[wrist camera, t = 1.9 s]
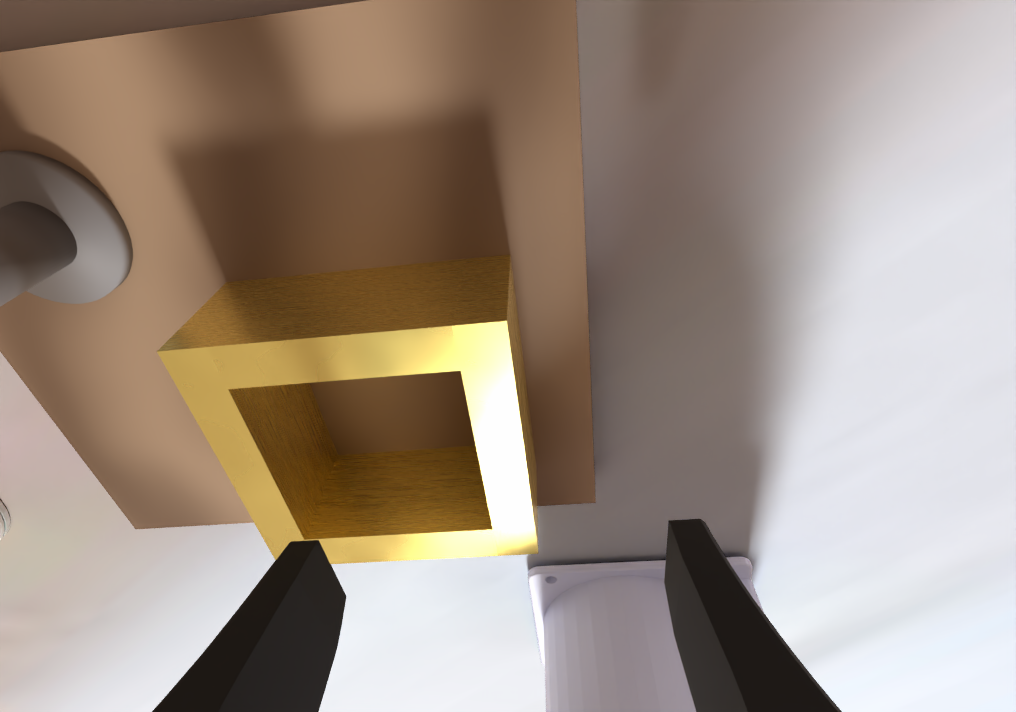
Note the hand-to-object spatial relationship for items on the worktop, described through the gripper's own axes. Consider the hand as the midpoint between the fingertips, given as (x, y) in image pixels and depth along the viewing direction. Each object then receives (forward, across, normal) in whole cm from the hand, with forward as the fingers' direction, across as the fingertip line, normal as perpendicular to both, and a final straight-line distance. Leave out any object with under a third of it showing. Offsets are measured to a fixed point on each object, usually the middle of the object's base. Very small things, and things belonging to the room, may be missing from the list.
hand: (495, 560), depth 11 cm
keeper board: (+8, +6, -2) cm, 10 cm away
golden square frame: (+7, +3, 0) cm, 7 cm away
